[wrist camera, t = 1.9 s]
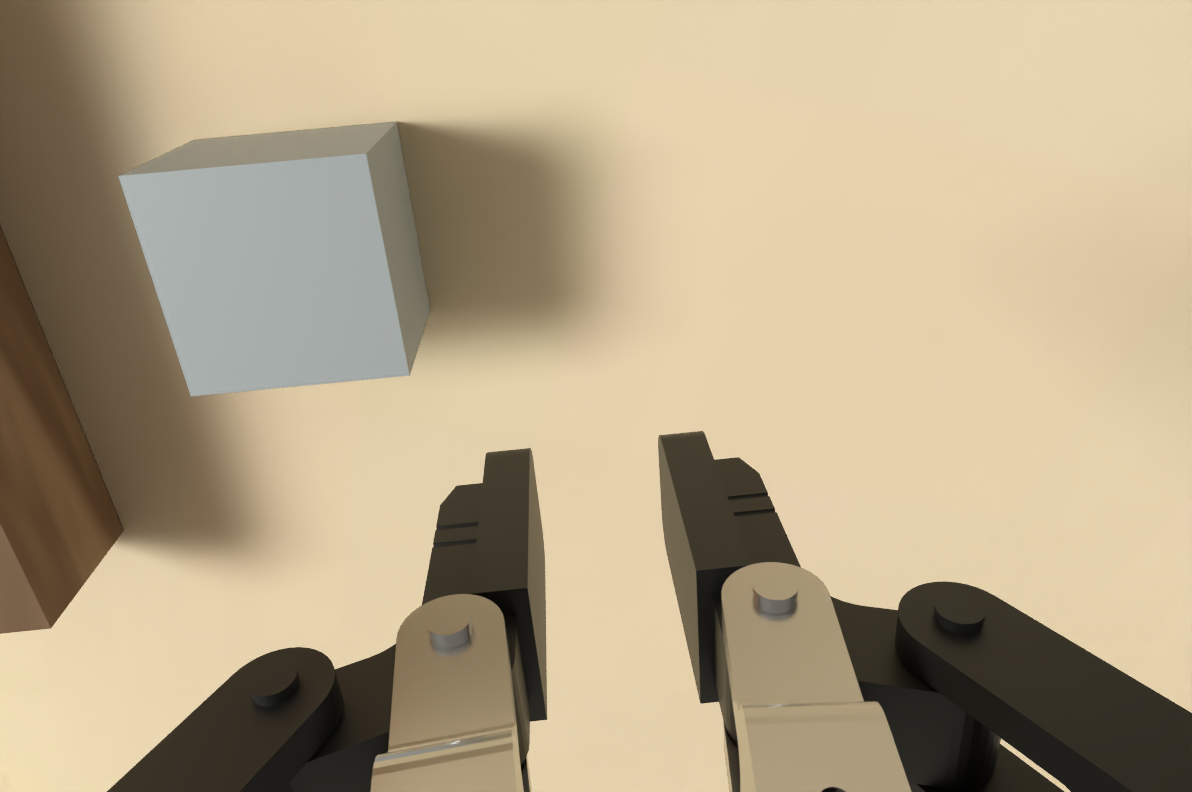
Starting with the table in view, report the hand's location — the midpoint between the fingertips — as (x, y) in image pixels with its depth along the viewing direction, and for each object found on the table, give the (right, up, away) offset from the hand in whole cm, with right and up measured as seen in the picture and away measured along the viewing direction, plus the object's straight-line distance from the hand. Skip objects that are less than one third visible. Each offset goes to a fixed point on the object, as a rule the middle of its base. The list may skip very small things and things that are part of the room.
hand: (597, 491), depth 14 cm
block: (-10, +8, +17) cm, 21 cm away
